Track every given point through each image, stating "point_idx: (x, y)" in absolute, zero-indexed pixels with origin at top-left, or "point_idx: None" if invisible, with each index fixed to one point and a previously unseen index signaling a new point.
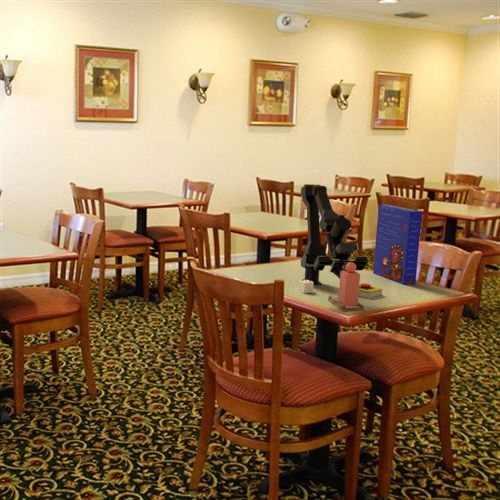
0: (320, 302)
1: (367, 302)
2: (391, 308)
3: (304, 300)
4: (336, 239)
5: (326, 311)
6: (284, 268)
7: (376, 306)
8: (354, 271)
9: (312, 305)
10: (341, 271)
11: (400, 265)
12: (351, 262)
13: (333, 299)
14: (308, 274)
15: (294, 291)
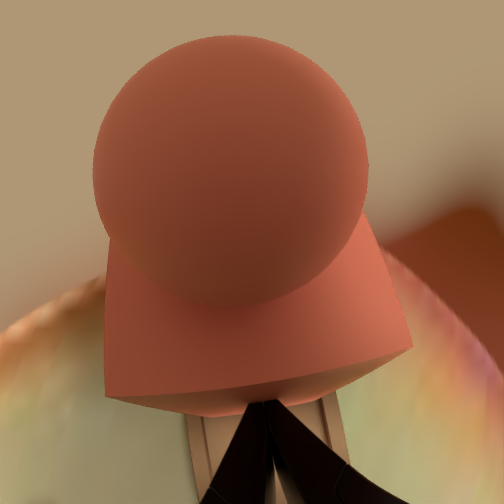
0: (406, 452)
1: (95, 474)
2: (28, 343)
3: (477, 463)
4: None
5: (389, 266)
6: None
7: (75, 387)
8: (123, 331)
9: (452, 370)
10: (401, 309)
11: None
12: (217, 38)
13: (343, 433)
14: None
15: None
